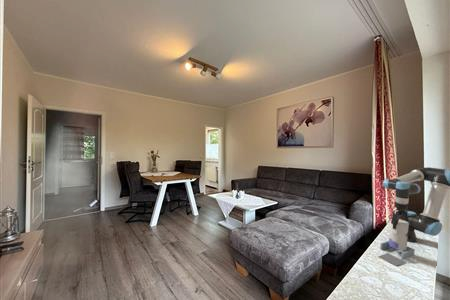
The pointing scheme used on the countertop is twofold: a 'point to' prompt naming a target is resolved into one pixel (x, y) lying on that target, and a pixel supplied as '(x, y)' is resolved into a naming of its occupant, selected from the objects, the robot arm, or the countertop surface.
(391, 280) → the countertop surface
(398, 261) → the mat
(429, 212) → the robot arm
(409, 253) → the cradle
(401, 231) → the container
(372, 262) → the countertop surface
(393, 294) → the countertop surface
